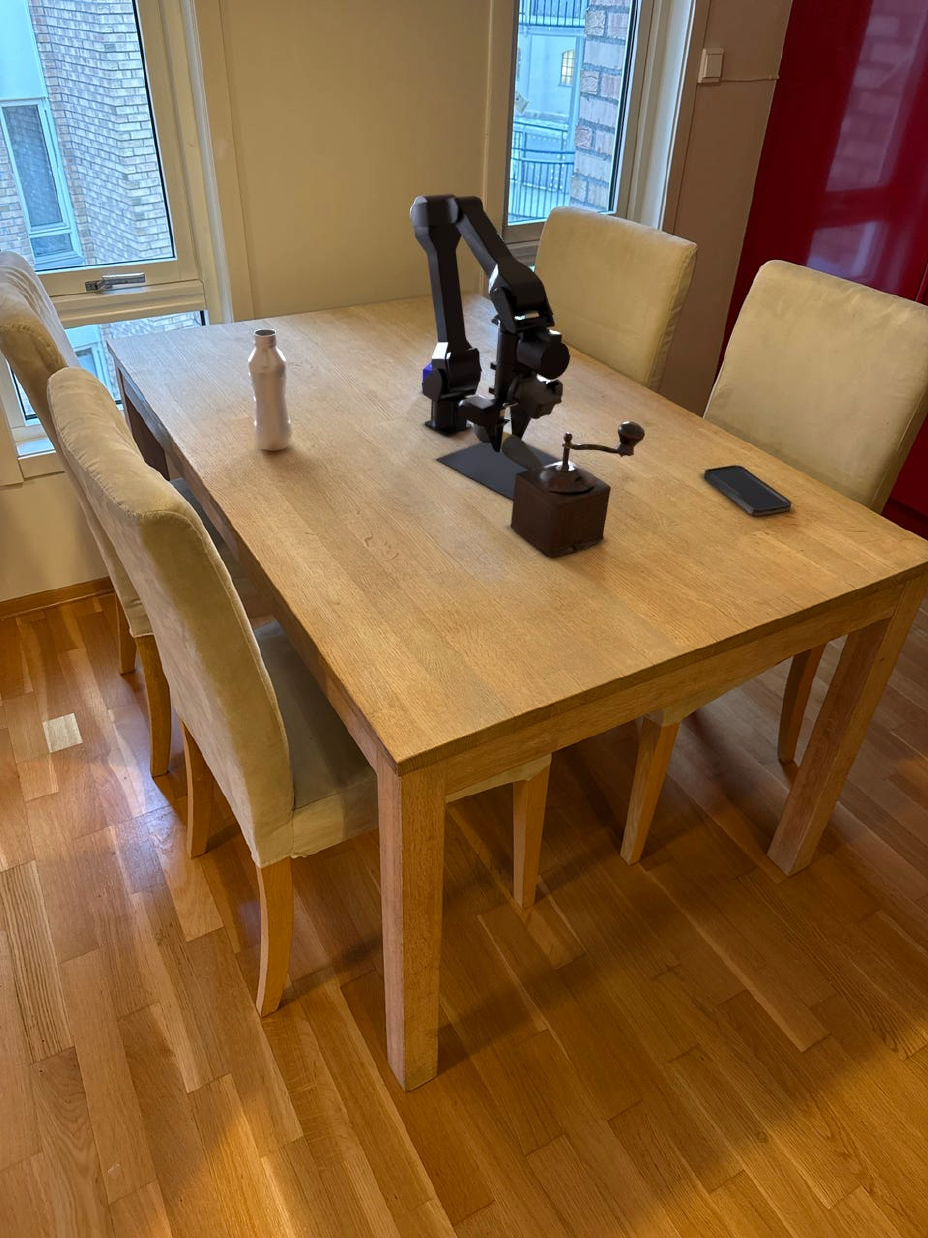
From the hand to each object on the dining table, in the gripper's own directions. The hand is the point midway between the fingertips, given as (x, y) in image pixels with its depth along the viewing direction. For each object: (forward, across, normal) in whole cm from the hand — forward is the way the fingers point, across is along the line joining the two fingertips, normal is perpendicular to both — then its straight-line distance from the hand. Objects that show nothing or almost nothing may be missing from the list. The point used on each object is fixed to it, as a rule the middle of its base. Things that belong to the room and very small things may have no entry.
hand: (506, 447), depth 153 cm
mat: (+3, 0, -1) cm, 4 cm away
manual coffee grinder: (+3, -8, -22) cm, 24 cm away
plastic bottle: (+4, -27, +30) cm, 40 cm away
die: (+4, +13, +32) cm, 35 cm away
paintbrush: (+1, 0, 0) cm, 1 cm away
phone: (+3, +25, -32) cm, 41 cm away
